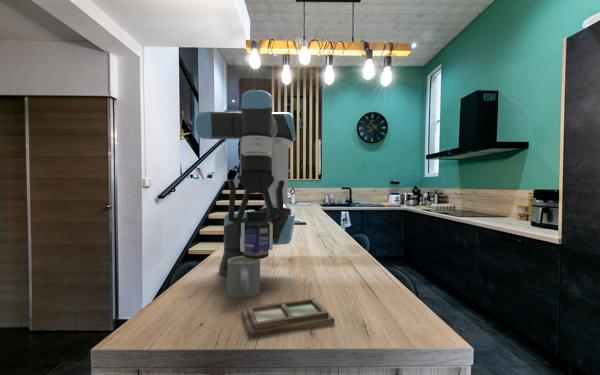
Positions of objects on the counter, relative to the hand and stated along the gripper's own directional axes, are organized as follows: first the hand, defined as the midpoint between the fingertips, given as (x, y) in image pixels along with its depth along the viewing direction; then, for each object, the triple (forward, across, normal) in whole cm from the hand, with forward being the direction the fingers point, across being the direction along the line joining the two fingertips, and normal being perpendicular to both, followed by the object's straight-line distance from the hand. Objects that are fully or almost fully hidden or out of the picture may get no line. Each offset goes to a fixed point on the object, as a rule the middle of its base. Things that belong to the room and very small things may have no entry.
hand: (256, 249), depth 70 cm
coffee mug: (+17, -2, +18) cm, 25 cm away
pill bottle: (+2, 0, 0) cm, 2 cm away
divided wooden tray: (+17, +7, -2) cm, 19 cm away
